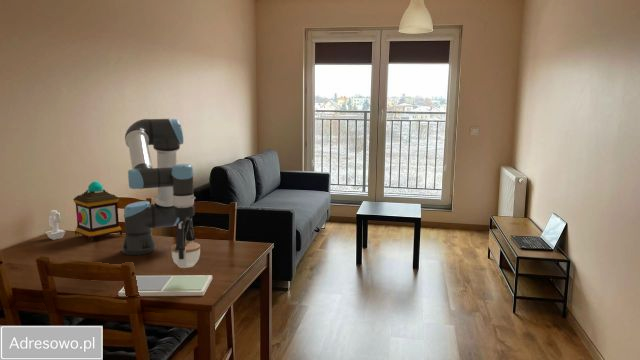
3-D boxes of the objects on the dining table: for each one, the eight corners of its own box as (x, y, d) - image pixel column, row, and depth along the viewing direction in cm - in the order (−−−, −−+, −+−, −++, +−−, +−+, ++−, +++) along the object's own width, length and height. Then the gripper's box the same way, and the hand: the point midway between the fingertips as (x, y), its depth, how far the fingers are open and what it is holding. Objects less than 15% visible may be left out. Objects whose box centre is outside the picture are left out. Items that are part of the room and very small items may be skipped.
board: (118, 296, 172) (118, 291, 172) (135, 279, 189) (134, 275, 189) (203, 295, 173) (203, 290, 173) (212, 278, 190) (212, 274, 190)
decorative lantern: (108, 229, 264) (104, 177, 260) (126, 235, 252) (122, 180, 247) (71, 237, 249) (66, 181, 244) (88, 244, 237) (84, 185, 232)
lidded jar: (192, 271, 174) (191, 246, 172) (166, 269, 176) (165, 244, 174) (205, 261, 184) (204, 238, 183) (180, 260, 186) (179, 237, 185)
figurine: (58, 235, 252) (56, 208, 250) (67, 238, 247) (65, 210, 245) (44, 238, 247) (42, 210, 244) (53, 241, 241) (50, 212, 239)
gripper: (186, 212, 165) (188, 272, 168) (200, 199, 188) (202, 252, 191) (164, 212, 165) (167, 272, 168) (181, 199, 188) (184, 252, 191)
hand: (186, 261), depth 180 cm, fingers closed on lidded jar, 11 cm apart
